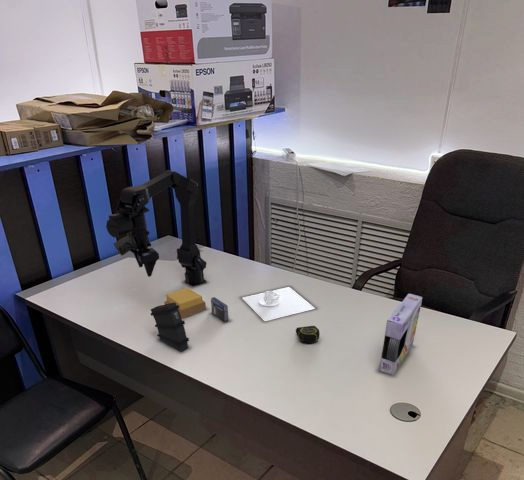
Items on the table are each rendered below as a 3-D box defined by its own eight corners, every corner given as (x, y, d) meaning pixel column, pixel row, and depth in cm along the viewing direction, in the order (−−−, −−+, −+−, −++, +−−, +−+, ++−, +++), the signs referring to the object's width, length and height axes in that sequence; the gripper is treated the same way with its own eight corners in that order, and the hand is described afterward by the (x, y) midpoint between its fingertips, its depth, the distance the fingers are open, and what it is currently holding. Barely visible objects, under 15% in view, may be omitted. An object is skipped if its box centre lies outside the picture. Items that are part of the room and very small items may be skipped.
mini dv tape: (211, 313, 174) (210, 298, 170) (215, 312, 174) (214, 297, 171) (224, 322, 168) (223, 306, 165) (228, 321, 169) (227, 305, 166)
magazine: (186, 351, 150) (167, 306, 146) (164, 353, 160) (145, 310, 156) (195, 346, 152) (177, 301, 149) (173, 348, 162) (155, 306, 159)
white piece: (276, 295, 185) (276, 285, 182) (286, 304, 178) (286, 294, 176) (254, 300, 181) (254, 290, 179) (264, 309, 175) (263, 299, 173)
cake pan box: (393, 378, 139) (401, 324, 130) (376, 373, 142) (383, 319, 132) (414, 347, 153) (423, 295, 143) (398, 342, 155) (406, 291, 146)
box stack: (191, 299, 183) (189, 286, 180) (206, 309, 176) (204, 295, 173) (165, 309, 177) (163, 295, 174) (179, 319, 171) (177, 305, 168)
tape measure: (315, 333, 161) (316, 323, 159) (321, 344, 155) (322, 334, 153) (295, 335, 160) (295, 325, 158) (300, 346, 154) (300, 336, 152)
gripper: (106, 224, 166) (114, 267, 175) (121, 241, 153) (130, 287, 161) (138, 218, 171) (145, 260, 179) (156, 234, 157) (162, 279, 166)
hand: (145, 271), depth 171 cm, fingers open, 9 cm apart
